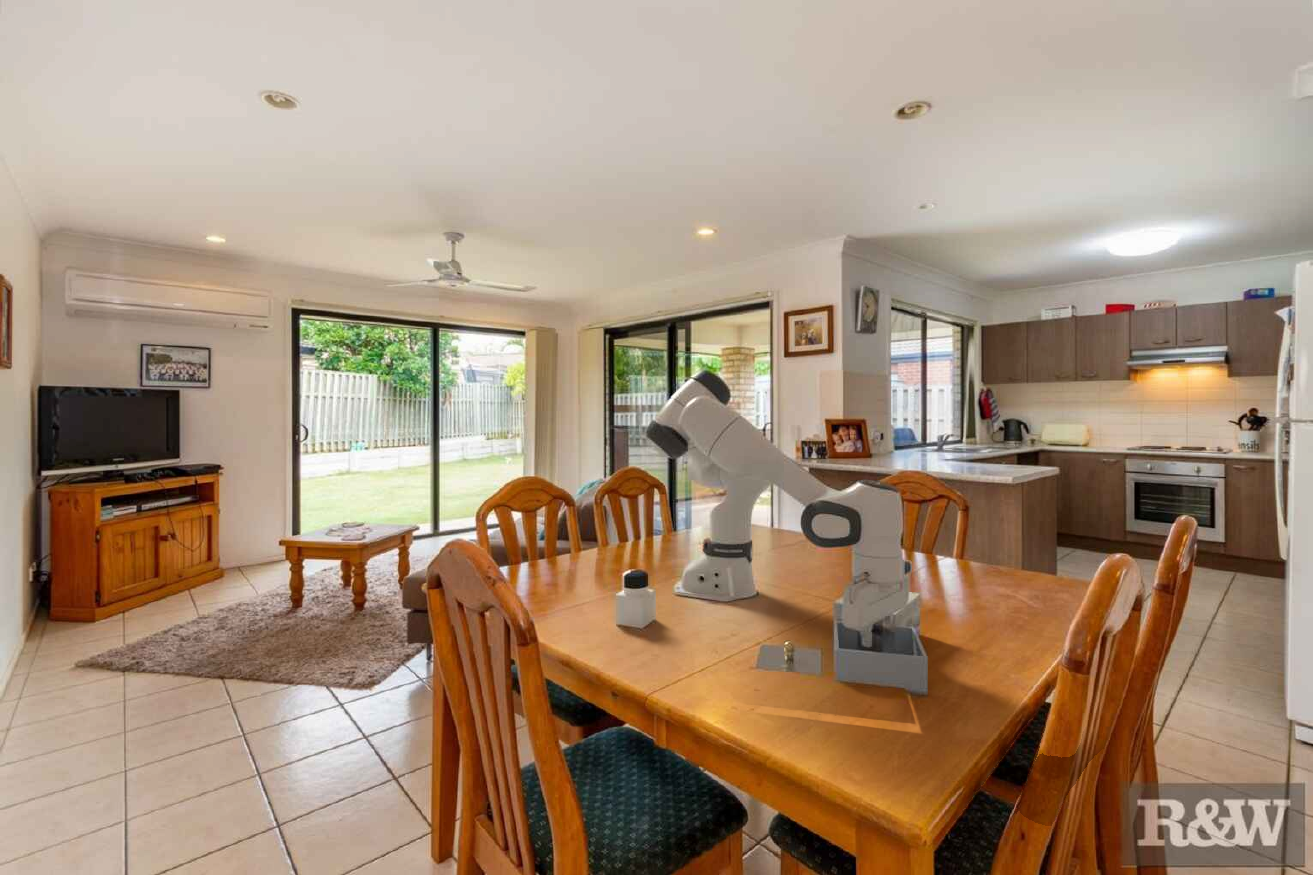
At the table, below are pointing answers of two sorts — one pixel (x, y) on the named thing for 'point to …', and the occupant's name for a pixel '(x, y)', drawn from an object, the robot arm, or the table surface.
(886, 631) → the strut socket
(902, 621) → the supplement box
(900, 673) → the bin
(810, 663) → the stud base
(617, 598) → the medicine bottle
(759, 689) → the table surface
